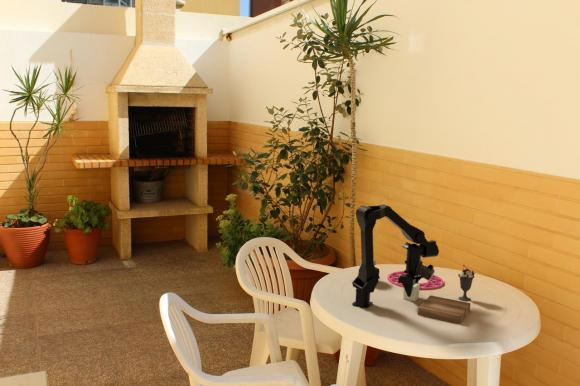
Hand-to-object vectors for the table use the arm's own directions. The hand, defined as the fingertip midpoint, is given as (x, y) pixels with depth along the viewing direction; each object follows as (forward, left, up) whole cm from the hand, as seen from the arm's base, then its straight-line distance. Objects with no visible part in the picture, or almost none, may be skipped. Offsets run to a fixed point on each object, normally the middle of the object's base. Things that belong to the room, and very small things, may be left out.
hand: (411, 294), depth 235 cm
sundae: (+12, -19, -2) cm, 23 cm away
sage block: (0, 0, -2) cm, 2 cm away
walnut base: (-8, -16, -2) cm, 18 cm away
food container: (+12, +24, -2) cm, 27 cm away
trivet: (+24, +6, -2) cm, 25 cm away
